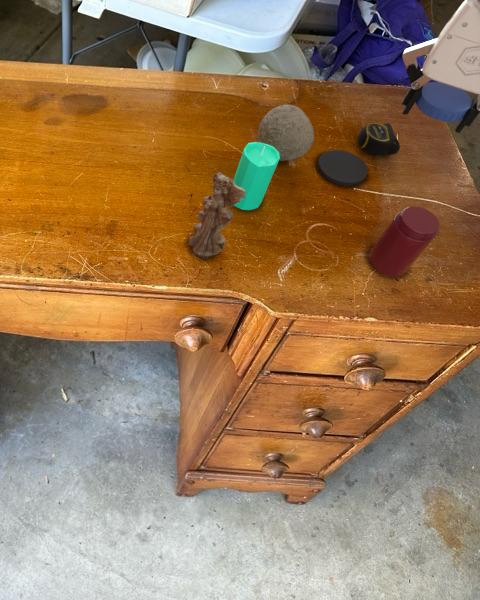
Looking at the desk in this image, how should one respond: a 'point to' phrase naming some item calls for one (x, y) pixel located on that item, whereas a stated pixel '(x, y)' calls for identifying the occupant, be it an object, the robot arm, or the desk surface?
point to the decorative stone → (287, 131)
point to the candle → (255, 173)
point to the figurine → (215, 216)
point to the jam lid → (443, 102)
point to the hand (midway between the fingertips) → (432, 117)
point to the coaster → (342, 167)
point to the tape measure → (378, 139)
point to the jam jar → (404, 241)
